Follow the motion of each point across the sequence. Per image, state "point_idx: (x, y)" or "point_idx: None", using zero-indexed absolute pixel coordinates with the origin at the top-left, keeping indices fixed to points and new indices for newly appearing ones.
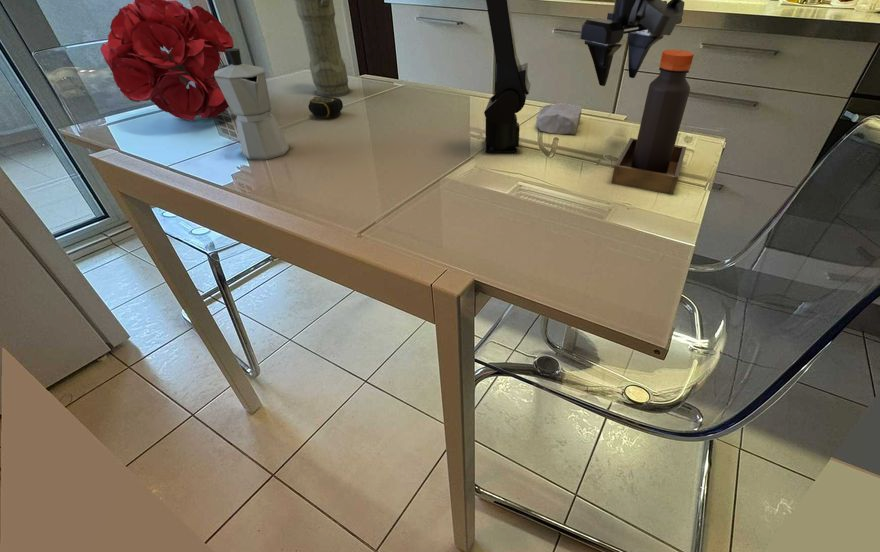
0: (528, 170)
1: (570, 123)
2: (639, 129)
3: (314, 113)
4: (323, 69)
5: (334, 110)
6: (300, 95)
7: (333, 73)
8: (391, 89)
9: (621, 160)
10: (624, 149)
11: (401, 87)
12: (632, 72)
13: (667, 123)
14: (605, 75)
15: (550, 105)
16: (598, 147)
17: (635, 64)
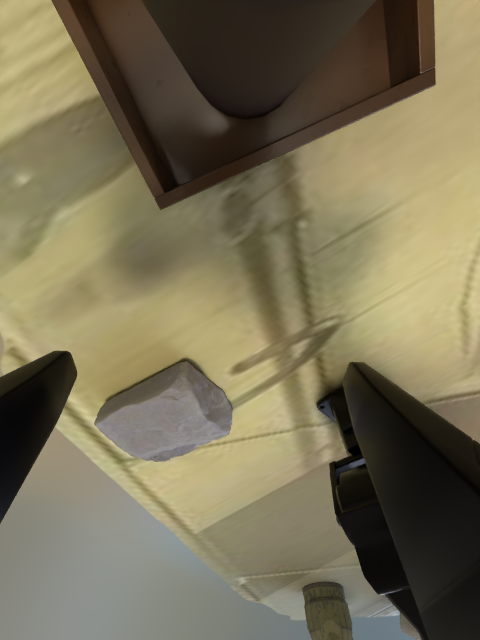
0: (434, 306)
1: (194, 384)
2: (306, 76)
3: None
4: (349, 628)
5: None
6: (355, 592)
7: (338, 619)
8: (262, 575)
9: (372, 98)
10: (268, 158)
11: (246, 575)
12: (58, 381)
13: None
14: (413, 398)
15: (150, 457)
16: (201, 282)
17: (19, 414)
